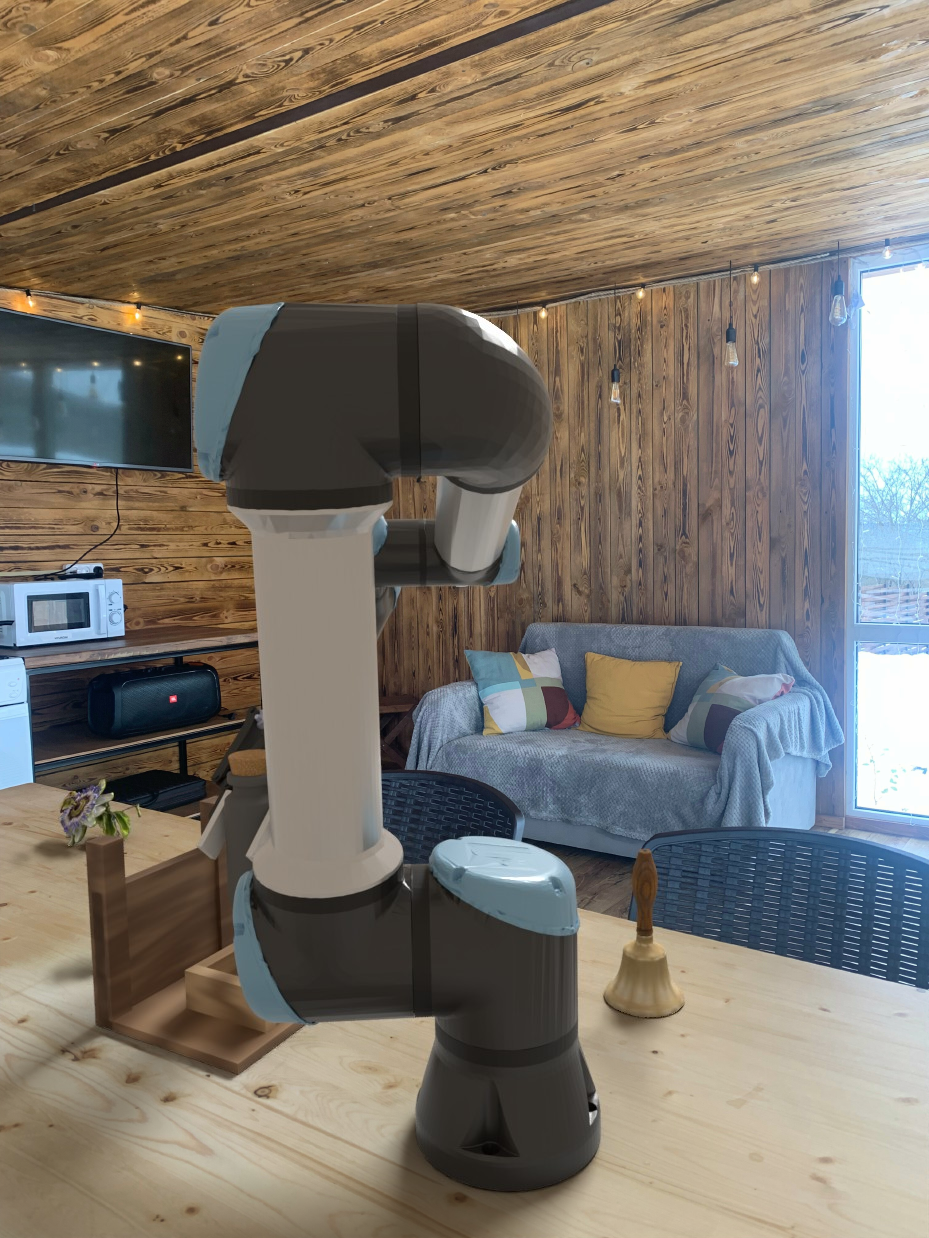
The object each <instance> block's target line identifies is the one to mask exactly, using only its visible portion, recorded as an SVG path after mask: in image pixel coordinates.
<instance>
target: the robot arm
mask: <svg viewBox="0 0 929 1238" xmlns="http://www.w3.org/2000/svg"><path fill="white" fill-rule="evenodd" d="M197 365H198V366H197V369H196V377H195V378H196V379H195V386H194V387H195V388H194V400H193V442H194V448H195V449H196V460H197V461H196V462H197V466H198V470H199V471H200V474H201V475H202V477H204V478H205V479H207V480H209V481H212V482H214V483H218V484H220V483H222V482H224V484H225V498H226V506H227V510H228V511H229V512H230V513H232V515H233V516H234V517H235V518H237V519H238V520H239V521H240V522H241V523H243V524H244V526H246V527H247V529H248V530H249V532H250V535H251V547H252V548H251V551H252V564H253V565H252V566H253V567H252V568H253V579H254V580H253V582H254V594H255V612H256V626H257V629H256V630H257V640H258V657H259V658H258V659H259V671H260V688H261V700H262V702H261V703H262V709H259V708H258V707H257V706H256V705H251V706H250V707H248V709H247V711H246V715H245V719H244V722H243V724H242V726H241V728H240V729H239V731H238V733H237V734H236V735H235V738H234V740H233V741H232V742H231V744H230V746H229V747H228V749H227V751H226V753H225V754H224V756H223V757H222V759H221V761H220V763H219V764H218V766H217V767H216V769H215V771H214V772H213V774H212V775H211V778H210V780H211V782H212V783H213V784H214V785H215V786H216V787H217V788H218V789H220V793H219V795H217V796H218V798H217V800H216V802H215V804H214V806H213V808H212V809H211V811H210V813H209V817H208V818H209V819H210V821H209V823H208V825H207V826H206V828H205V830H204V832H203V834H202V836H201V835H200V838H199V839H198V841H197V842H196V843H197V844H196V846H195V847H196V848H199V849H200V850H201V851H202V852H204V853H205V854H206V855H207V856H208V857H209V858H211V859H217V857H218V855H219V853H220V851H221V849H222V847H223V845H224V843H225V841H226V835H225V810H224V800H225V798H226V797H227V795H228V794H230V793H231V792H233V786H231V785H229V784H228V783H227V773H228V772H230V771H231V767H230V763H229V759H228V756H229V755H230V754H232V753H235V752H238V751H244V750H254V749H263V750H265V751H266V766H267V781H268V797H269V810H268V812H267V814H266V816H265V818H264V820H263V822H262V824H261V826H260V828H259V830H258V832H257V834H256V836H255V838H254V840H253V842H252V844H251V846H250V848H249V850H248V852H247V854H246V857H247V858H249V859H250V860H251V861H252V862H253V869H252V870H251V871H248V872H246V873H244V874H243V875H242V876H241V877H240V879H239V881H238V884H237V887H236V891H235V895H234V903H233V925H234V932H235V936H234V939H233V942H234V954H235V961H236V967H237V972H238V977H239V981H240V985H241V988H242V992H243V995H244V997H245V1000H246V1002H247V1004H248V1005H249V1007H250V1008H251V1010H252V1011H253V1013H254V1014H255V1015H257V1016H258V1017H260V1018H261V1019H264V1020H265V1021H268V1022H272V1023H300V1024H304V1026H308V1027H311V1026H315V1025H318V1024H319V1023H334V1022H335V1023H336V1022H337V1023H338V1022H353V1021H359V1022H360V1021H375V1020H377V1021H378V1020H396V1019H398V1020H399V1019H414V1018H415V1019H416V1018H434V1040H433V1043H432V1044H433V1045H432V1047H431V1051H430V1054H429V1055H428V1056H429V1057H428V1060H427V1064H426V1067H425V1070H424V1075H423V1078H422V1081H421V1086H420V1088H419V1090H418V1092H417V1095H416V1099H415V1108H414V1109H415V1111H414V1112H415V1115H414V1116H415V1137H416V1141H417V1145H418V1148H419V1149H420V1151H421V1153H422V1154H423V1156H424V1157H425V1159H426V1160H427V1161H428V1162H429V1163H430V1164H431V1165H432V1166H433V1167H434V1168H436V1169H437V1170H438V1171H440V1172H441V1173H442V1174H444V1175H446V1176H447V1177H449V1178H452V1179H454V1180H455V1181H458V1182H460V1183H462V1184H465V1185H468V1186H472V1187H475V1188H481V1189H485V1190H490V1191H498V1192H499V1191H501V1192H503V1191H504V1192H519V1191H520V1192H521V1191H528V1190H535V1189H539V1188H540V1189H541V1188H545V1187H549V1186H552V1185H554V1184H557V1183H560V1182H562V1181H564V1180H567V1179H568V1178H570V1177H572V1176H573V1175H575V1174H577V1173H578V1172H579V1171H581V1170H582V1169H583V1168H584V1167H585V1166H586V1165H587V1164H589V1162H590V1161H591V1160H592V1159H593V1157H594V1156H595V1155H596V1152H597V1151H598V1148H599V1145H600V1143H601V1135H602V1134H601V1133H602V1124H601V1123H602V1120H601V1119H602V1118H601V1117H602V1115H601V1114H602V1112H601V1111H602V1109H601V1104H600V1099H599V1095H598V1092H597V1089H596V1086H595V1083H594V1081H593V1077H592V1074H591V1071H590V1069H589V1066H588V1062H587V1060H586V1057H585V1056H586V1055H585V1053H584V1051H583V1047H582V1046H581V1045H582V1044H581V1042H580V1039H579V999H578V998H579V987H578V986H579V985H578V983H579V981H578V979H579V976H578V974H579V973H578V971H579V970H578V966H579V965H578V964H579V963H578V962H579V961H578V959H579V958H578V932H579V929H580V927H581V925H580V924H581V919H580V917H579V914H578V903H577V901H578V900H577V891H576V882H575V878H574V875H573V873H572V871H571V869H570V868H569V866H567V865H566V864H565V862H564V861H563V860H561V859H560V858H559V857H558V856H556V855H554V854H552V853H551V852H549V851H547V850H545V849H542V848H540V847H538V846H536V845H533V844H530V843H526V842H523V841H518V840H515V839H509V838H503V837H497V836H482V835H480V836H479V835H469V836H459V837H458V838H457V839H454V838H453V839H452V838H450V839H446V840H443V841H441V842H438V844H437V845H435V847H434V848H433V849H432V852H431V855H430V856H429V857H428V861H429V862H428V863H415V864H414V863H413V864H411V863H407V864H406V863H405V864H404V850H403V846H402V844H401V842H400V840H399V839H398V838H397V837H396V836H395V835H393V834H392V833H391V832H390V831H389V830H387V829H386V828H384V825H383V824H384V821H383V819H384V817H383V794H382V793H383V792H382V791H383V790H382V765H381V764H382V762H381V761H382V760H381V758H382V756H381V735H380V734H381V731H380V702H379V697H380V696H379V675H378V674H379V673H378V672H379V671H378V644H377V642H378V640H379V638H380V636H381V634H382V632H383V629H384V627H385V625H386V623H387V622H388V619H389V618H390V615H391V614H392V613H393V611H394V609H396V606H397V603H398V602H397V601H398V597H399V595H400V593H401V590H402V588H409V587H410V588H411V587H412V588H414V587H415V588H417V587H419V588H420V587H467V586H468V587H473V586H474V587H476V586H477V587H479V586H480V587H485V588H486V587H487V588H488V587H491V586H494V585H495V586H497V585H510V584H513V583H514V582H516V581H517V579H518V577H519V574H520V566H521V537H520V530H519V526H518V524H517V522H516V521H515V520H514V518H513V517H514V515H515V512H516V509H517V505H518V503H519V499H520V496H521V493H522V490H523V488H524V485H526V484H527V483H528V482H530V481H531V480H532V479H533V478H534V477H535V476H536V474H537V473H538V472H539V470H540V469H541V467H542V466H543V464H544V461H545V459H546V458H547V457H546V456H547V454H548V452H549V449H550V446H551V442H552V438H553V433H554V411H553V407H552V401H551V397H550V394H549V393H550V392H549V391H548V388H547V386H546V383H545V382H544V379H543V376H542V375H541V373H540V371H539V370H538V368H537V367H536V366H535V364H534V363H533V360H531V358H530V357H529V356H528V354H527V353H526V352H525V350H524V349H522V348H521V347H520V346H519V344H518V343H516V342H515V341H514V339H512V337H510V336H509V335H508V334H507V333H505V332H504V331H503V330H501V329H500V328H499V327H497V326H496V325H494V324H492V323H491V322H490V321H488V320H486V319H485V318H483V317H481V316H479V315H477V314H475V313H472V312H469V311H467V310H465V309H463V308H459V307H455V306H451V305H448V304H442V303H431V302H429V303H428V302H423V303H422V302H417V303H415V304H413V303H412V304H411V303H410V304H406V303H405V304H401V303H400V304H396V303H394V304H390V303H389V304H388V303H387V304H385V303H384V304H383V303H381V304H379V303H335V302H333V303H332V302H331V303H330V302H328V303H327V302H323V303H321V302H285V301H281V302H280V301H279V302H276V303H265V304H254V305H243V306H236V307H231V308H228V309H225V310H224V311H222V312H221V313H220V314H218V315H217V316H215V318H214V320H213V321H212V322H211V324H210V325H209V327H208V329H207V331H206V334H205V336H204V340H203V344H202V347H201V350H200V356H199V360H198V364H197ZM421 477H437V478H436V479H437V480H436V495H435V496H436V497H435V518H397V519H396V518H393V519H392V518H391V519H390V518H389V519H386V518H385V516H384V515H385V513H386V512H387V511H389V510H390V508H391V507H392V506H393V504H394V494H393V493H394V491H393V490H394V489H393V487H394V485H393V483H394V479H397V478H421Z"/></svg>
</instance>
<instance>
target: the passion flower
mask: <svg viewBox="0 0 929 1238" xmlns="http://www.w3.org/2000/svg"><path fill="white" fill-rule="evenodd" d="M106 785H107V780H106V779H105V778H103V779H101V780H100V781H99V782H98V784H97V785H95V786H94V784H91V785H90V786H89V787H86V788H85V789H82V792H80V791H78V792H77V794H76V790H75V791H74V790H71V791H69V792H68V794H67V795H66V796H65V797H64V798H63V800H62V802H61V804H59V809H60V810H59V813H60V814H61V815H59V817H58V819H57V820H59V821H60V824H61V827H63V832H64V833H65V834H66V835H65V838H66V839H69V841H68V843H67V844H66V846H67V845H73V846H74V845H75V844H79V843H80V842H82V841H83V840H84V838H85V836H86V834H87V829H88V828H91V829H92V828H95V827H96V826H97V825H98V827H99V828H100V829H102V832H103V835H111V836H116V837H118V836H117V835H119V834H120V835H122V838H123V842H125V841H126V840H127V839H128V837H129V835H130V833H131V829H132V828H131V823H130V822H131V818H130V817H129V815H128V814H126V813H125V811H127V810H130V809H132V808H135V810H136V812H137V816H138V818H141V817H142V812H141V807H140V803H137V804H136V805H135V804H134V805H132V806H130V807H127V808H125V809H122V810H115V811H112V810H111V806H110V802H111V801H112V800H113V799H114V792H110V793H109V792H108V793H105V794H103V792H104V790H105V789H106ZM117 824H118V825H119V830H120V832H121V833H120V832H119V830H118V827H117Z"/></svg>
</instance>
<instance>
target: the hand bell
mask: <svg viewBox="0 0 929 1238" xmlns="http://www.w3.org/2000/svg"><path fill="white" fill-rule="evenodd" d="M631 875H632V876H631V885H632V893H633V896H634V900H635V904H636V909H637V911H636V912H637V913H636V929H635V932H636V938H635V939H633V940H630V941H628V942H626V943H625V944H624V946H623V949H622V954H621V955H622V956H621V962H620V966H619V969H618V971H617V974H616V975H615V977H614V978H613V979H611V980H610V981H609V982H608V983H607V985H605V988H604V990H603V996H604V999H605V1002H606V1003H608V1005H610V1006H611V1007H612V1008H613V1009H614V1010H616V1011H618V1010H619V1011H618V1012H620V1011H621V1013H623V1012H624V1014H626V1013H627V1014H626V1015H629V1014H631V1015H630V1016H633V1017H638V1016H639V1018H645V1017H647V1018H646V1019H650V1018H649V1017H656V1018H661V1016H662V1017H663V1016H664V1017H667V1015H668V1016H670V1015H669V1014H672V1013H674V1012H676V1013H678V1012H679V1011H680V1010H681V1009H682V1008H683V1007H684V1005H685V1002H684V999H685V996H684V993H683V992H682V990H681V988H680V987H679V986H678V985H677V984H676V983H675V982H674V980H673V979H672V977H671V974H670V970H669V965H668V958H667V951H666V949H665V947H664V946H663V945H662V944H660V943H658V942H656V941H654V928H653V922H654V921H653V910H654V909H653V908H654V903H655V900H656V897H657V892H658V884H659V883H658V871H657V868H656V864H655V861H654V857H653V853H652V851H651V849H648V848H641V849H639V850H638V852H637V856H636V860H635V862H634V865H633V868H632V874H631ZM682 1006H683V1007H682ZM681 1007H682V1008H681ZM680 1008H681V1009H680ZM679 1009H680V1010H679ZM678 1010H679V1011H678ZM677 1011H678V1012H677ZM674 1014H675V1013H674ZM672 1015H673V1014H672ZM664 1017H663V1018H664Z"/></svg>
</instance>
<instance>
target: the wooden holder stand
mask: <svg viewBox="0 0 929 1238" xmlns="http://www.w3.org/2000/svg"><path fill="white" fill-rule="evenodd" d="M218 796H219V795H214V796H211V797H208V798H205V799H202V800H199V817H200V818H199V819H200V837H201V836H202V834H203V832H204V830H205V828H206V826H207V825H208V823H209V821H210V819H209V818H208V817H209V813H210V811H211V809H212V808H213V806H214V804H215V802H216V800H217V798H218ZM124 842H125V841H124V838H123V837H120V836H117V837H116V836H111V835H104V834H103V835H100V836H98V837H95V838H93V839H88V840H87V841H85V842H84V843H85V858H86V860H85V861H86V875H87V877H86V878H87V892H88V893H87V895H88V909H89V927H90V928H89V929H90V945H91V946H90V947H91V948H90V949H91V965H92V982H93V984H92V985H93V999H94V1019H95V1025H96V1026H98V1027H100V1028H104V1029H105V1030H109V1031H112V1032H115V1033H119V1034H120V1035H124V1036H127V1037H129V1038H132V1039H136V1040H138V1041H141V1042H143V1043H147V1044H150V1045H152V1046H155V1047H158V1048H162V1049H165V1050H167V1051H171V1052H173V1053H176V1054H179V1055H182V1056H184V1057H187V1058H190V1059H193V1060H195V1061H199V1062H202V1063H205V1064H208V1065H211V1066H213V1067H216V1068H218V1069H223V1070H225V1071H227V1072H231V1073H234V1074H236V1075H240V1074H241V1073H242V1072H243V1071H245V1070H246V1069H247V1068H249V1067H250V1066H252V1065H253V1064H255V1063H256V1062H257V1061H258V1060H259V1059H261V1058H263V1057H264V1056H265V1055H266V1054H268V1053H269V1052H270V1051H272V1050H273V1049H274V1048H276V1047H277V1046H278V1045H279V1044H281V1043H283V1042H284V1041H285V1040H287V1039H289V1037H291V1036H292V1035H293V1034H294V1033H296V1032H298V1031H299V1030H300V1029H301V1028H302V1027H304V1026H305V1025H304V1024H300V1023H272V1022H268V1021H265V1020H264V1019H261V1018H260V1017H258V1016H257V1015H255V1014H254V1013H253V1011H252V1010H251V1008H250V1007H249V1005H248V1004H247V1002H246V1000H245V997H244V995H243V992H242V988H241V985H240V981H239V977H238V972H237V967H236V961H235V954H234V942H233V939H234V936H235V932H234V925H233V904H232V903H231V902H230V901H229V897H228V880H227V858H226V841H225V843H224V845H223V847H222V849H221V851H220V853H219V855H218V857H217V859H211V858H209V857H208V856H207V855H206V854H205V853H204V852H202V851H201V850H200V849H199V848H198V847H195V848H193V849H191V850H189V851H186V852H183V853H181V854H179V855H176V856H174V857H172V858H170V859H167V860H164V861H162V862H159V863H157V864H155V865H152V866H150V867H147V868H146V869H145V868H144V869H142V870H140V871H137V872H135V873H133V874H130V875H128V876H126V865H125V845H124V844H125V843H124Z"/></svg>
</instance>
